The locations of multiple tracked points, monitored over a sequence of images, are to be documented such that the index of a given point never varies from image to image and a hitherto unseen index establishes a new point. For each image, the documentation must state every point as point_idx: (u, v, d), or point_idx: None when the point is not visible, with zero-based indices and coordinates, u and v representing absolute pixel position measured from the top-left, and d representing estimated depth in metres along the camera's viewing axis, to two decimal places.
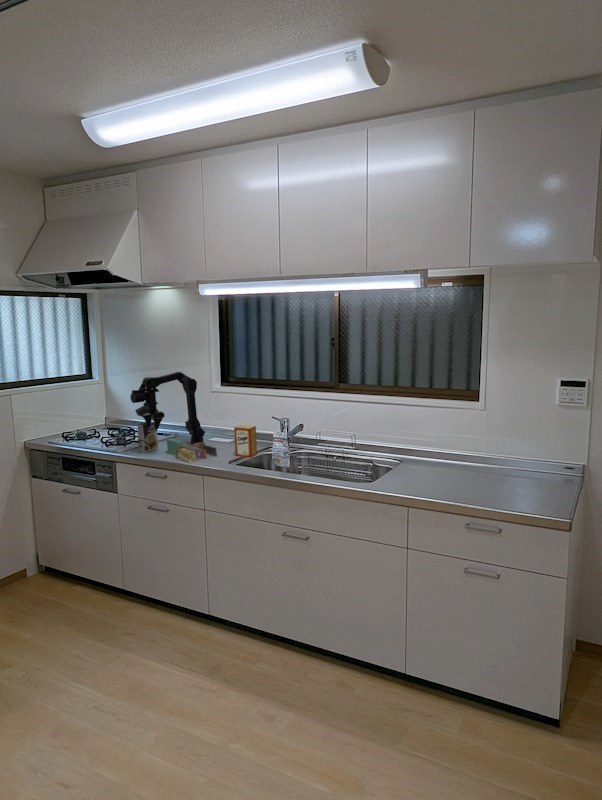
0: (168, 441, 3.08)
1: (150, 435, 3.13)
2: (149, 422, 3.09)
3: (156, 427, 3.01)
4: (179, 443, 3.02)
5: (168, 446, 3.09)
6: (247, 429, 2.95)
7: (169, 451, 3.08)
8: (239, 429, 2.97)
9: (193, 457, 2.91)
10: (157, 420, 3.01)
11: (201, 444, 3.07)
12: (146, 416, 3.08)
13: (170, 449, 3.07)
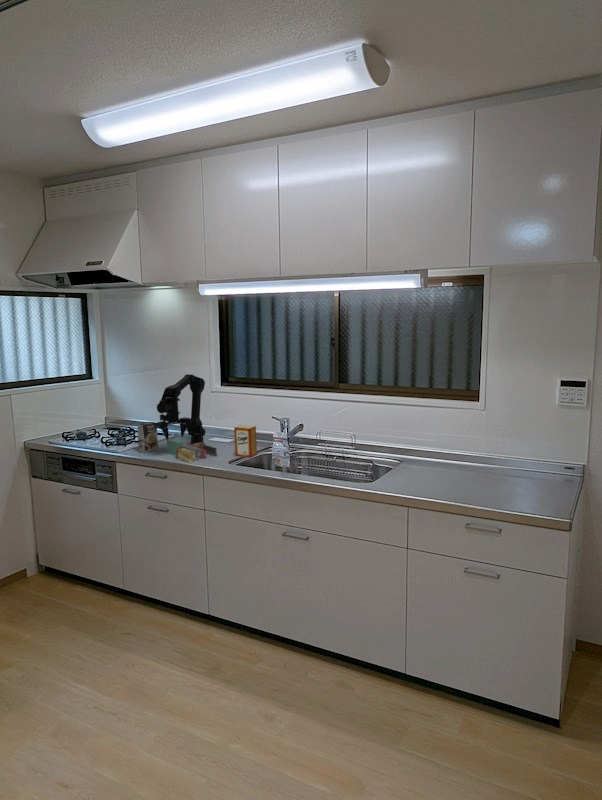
0: (168, 441, 3.08)
1: (150, 435, 3.13)
2: (182, 432, 3.08)
3: None
4: (179, 443, 3.02)
5: (168, 446, 3.09)
6: (247, 429, 2.95)
7: (169, 451, 3.08)
8: (239, 429, 2.97)
9: (193, 457, 2.91)
10: (164, 430, 3.01)
11: (201, 444, 3.07)
12: (181, 425, 3.09)
13: (170, 449, 3.07)
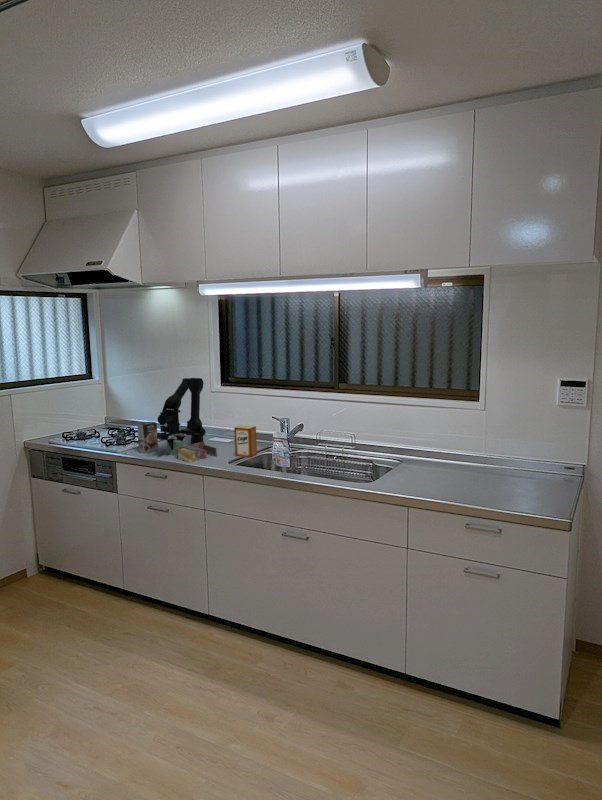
0: None
1: (150, 435, 3.13)
2: None
3: (170, 447, 3.05)
4: (179, 443, 3.02)
5: (168, 446, 3.08)
6: (247, 429, 2.95)
7: (169, 451, 3.08)
8: (239, 429, 2.97)
9: (193, 457, 2.91)
10: (169, 441, 3.03)
11: (201, 444, 3.07)
12: (177, 437, 3.08)
13: (170, 449, 3.07)
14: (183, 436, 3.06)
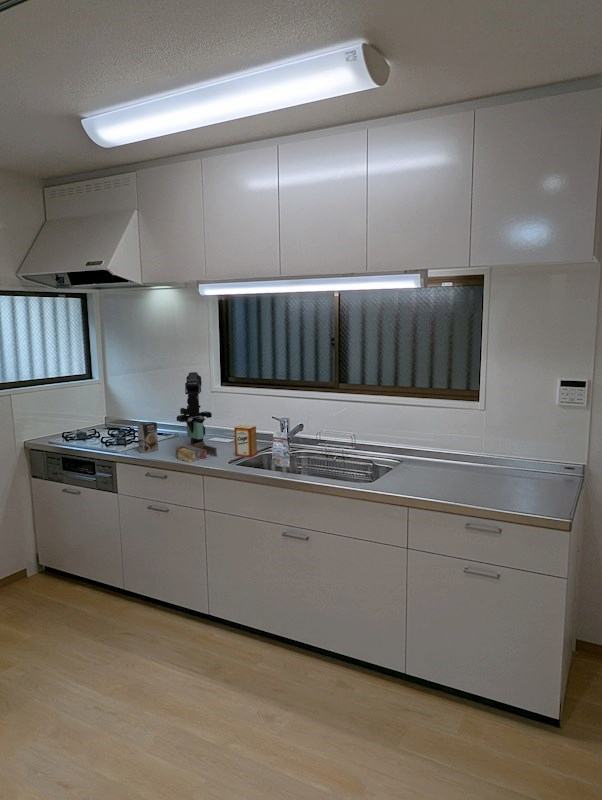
0: None
1: (150, 435, 3.13)
2: None
3: (190, 430, 3.00)
4: (199, 425, 2.96)
5: (187, 429, 3.03)
6: (247, 429, 2.95)
7: (189, 434, 3.03)
8: (239, 429, 2.97)
9: (193, 457, 2.91)
10: (189, 423, 2.98)
11: (201, 444, 3.07)
12: (197, 420, 3.03)
13: (190, 432, 3.02)
14: (203, 419, 3.01)
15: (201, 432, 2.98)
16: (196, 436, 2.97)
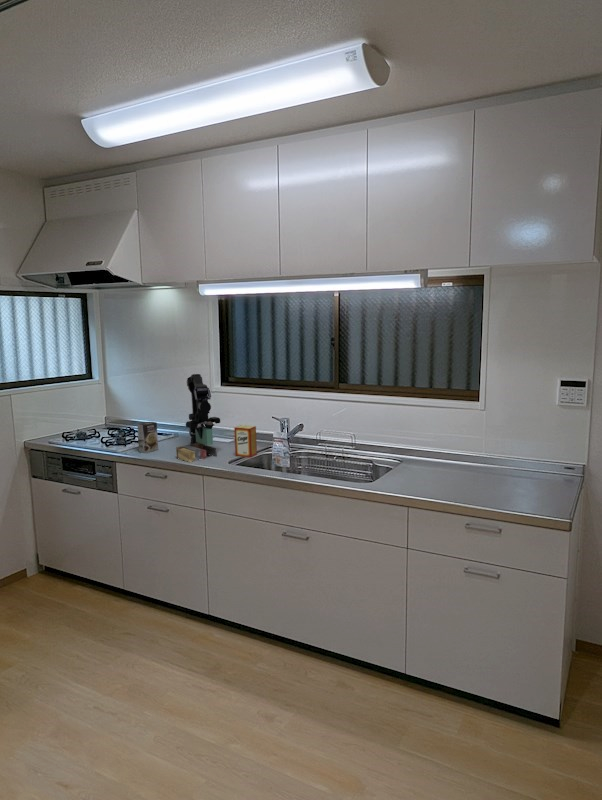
0: None
1: (150, 435, 3.13)
2: None
3: (199, 436, 2.99)
4: (208, 431, 2.96)
5: (196, 434, 3.03)
6: (247, 429, 2.95)
7: (198, 439, 3.02)
8: (239, 429, 2.97)
9: (193, 457, 2.91)
10: (198, 429, 2.98)
11: (201, 444, 3.07)
12: (206, 425, 3.02)
13: (199, 437, 3.01)
14: (212, 424, 3.01)
15: (210, 438, 2.97)
16: (205, 442, 2.97)
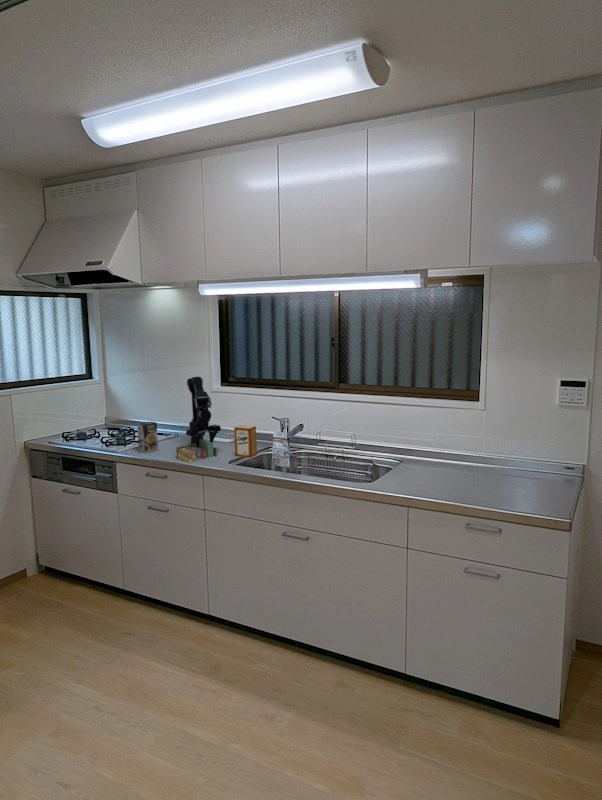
0: None
1: (150, 435, 3.13)
2: (211, 440, 3.03)
3: (196, 444, 2.98)
4: (209, 444, 2.97)
5: (197, 447, 3.04)
6: (247, 429, 2.95)
7: None
8: (239, 429, 2.97)
9: (193, 457, 2.91)
10: (195, 438, 2.97)
11: None
12: (210, 432, 3.04)
13: None
14: (216, 432, 3.03)
15: (211, 451, 2.98)
16: (206, 455, 2.98)
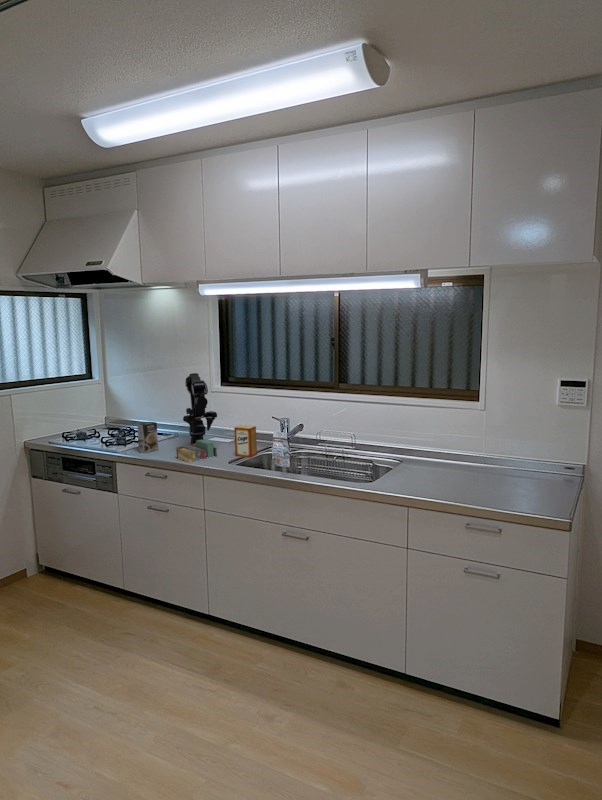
0: (197, 442, 3.03)
1: (150, 435, 3.13)
2: (208, 426, 3.10)
3: (192, 430, 3.04)
4: (209, 444, 2.97)
5: (197, 447, 3.04)
6: (247, 429, 2.95)
7: None
8: (239, 429, 2.97)
9: (193, 457, 2.91)
10: (191, 424, 3.02)
11: None
12: (207, 419, 3.10)
13: None
14: None
15: (211, 451, 2.98)
16: (206, 455, 2.98)
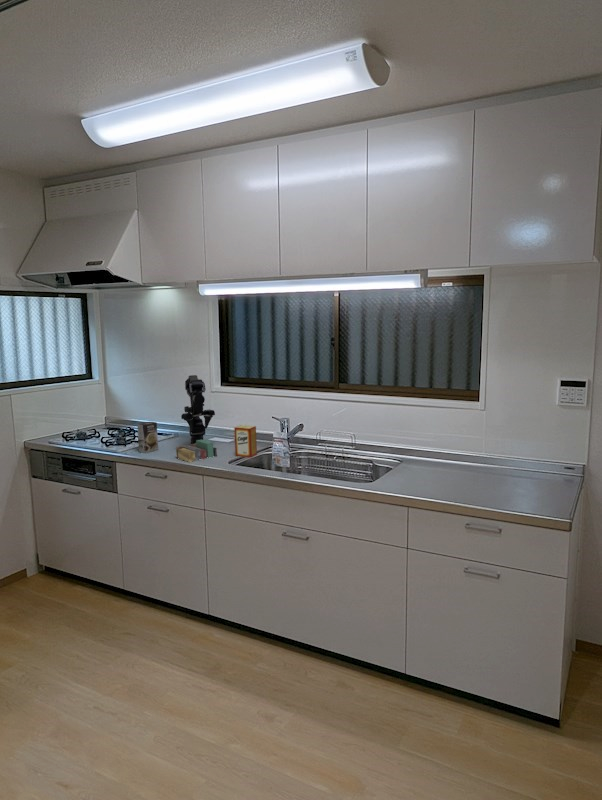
0: (197, 442, 3.03)
1: (150, 435, 3.13)
2: (206, 423, 3.15)
3: (190, 428, 3.09)
4: (209, 444, 2.97)
5: (197, 447, 3.04)
6: (247, 429, 2.95)
7: None
8: (239, 429, 2.97)
9: (193, 457, 2.91)
10: (190, 422, 3.07)
11: None
12: (205, 417, 3.15)
13: None
14: None
15: (211, 451, 2.98)
16: (206, 455, 2.98)
